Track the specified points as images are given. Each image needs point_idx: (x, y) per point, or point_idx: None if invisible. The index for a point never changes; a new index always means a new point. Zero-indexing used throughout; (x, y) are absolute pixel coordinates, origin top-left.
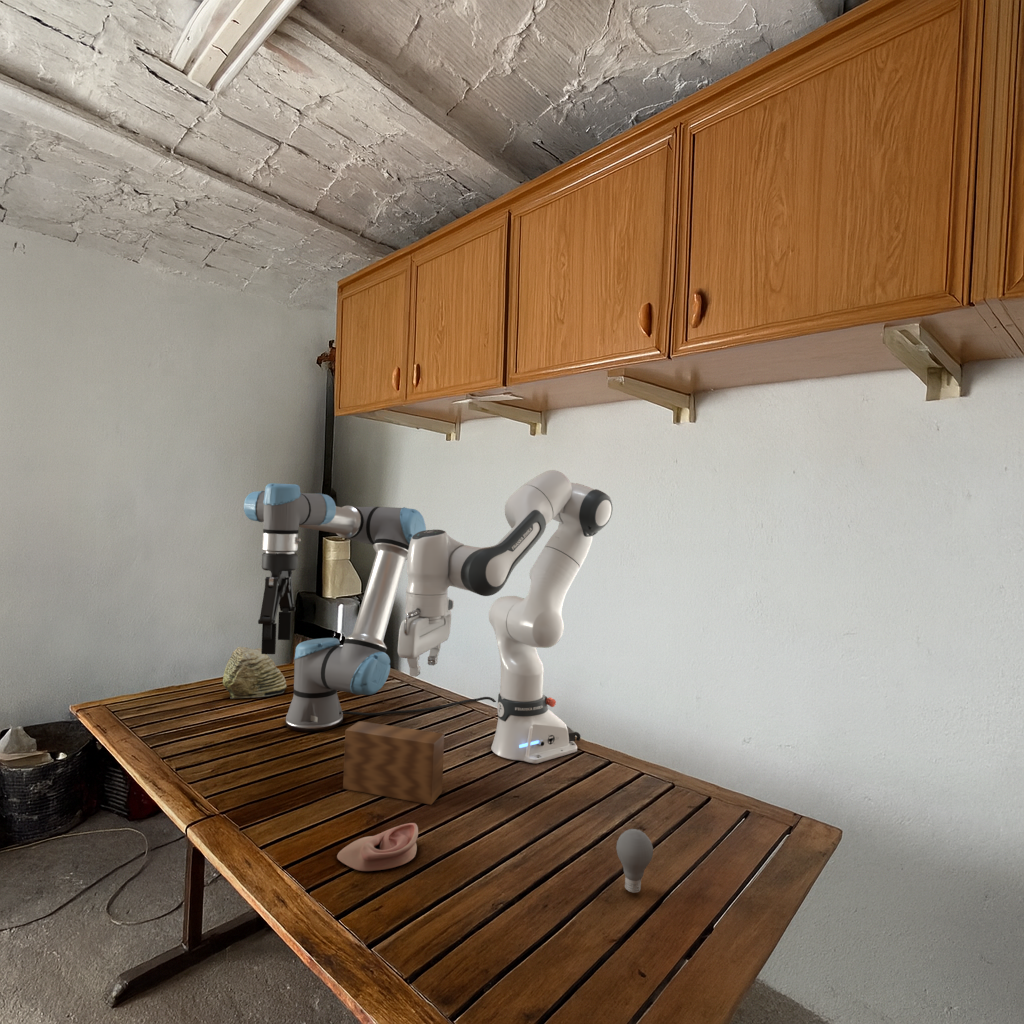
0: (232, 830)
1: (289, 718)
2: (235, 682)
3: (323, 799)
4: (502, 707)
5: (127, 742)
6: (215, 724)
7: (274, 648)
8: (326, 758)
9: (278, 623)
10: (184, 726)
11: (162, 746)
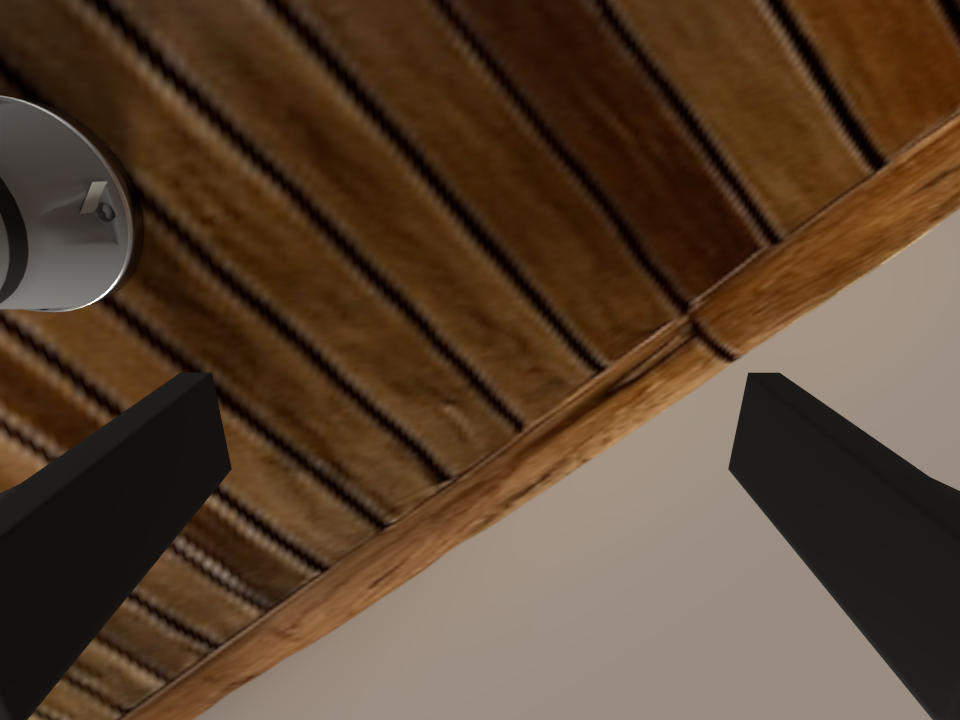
0: (777, 259)
1: (97, 291)
2: None
3: (648, 49)
4: None
5: (300, 622)
6: None
7: (812, 396)
8: (350, 99)
9: (137, 583)
10: (178, 553)
11: (314, 552)
